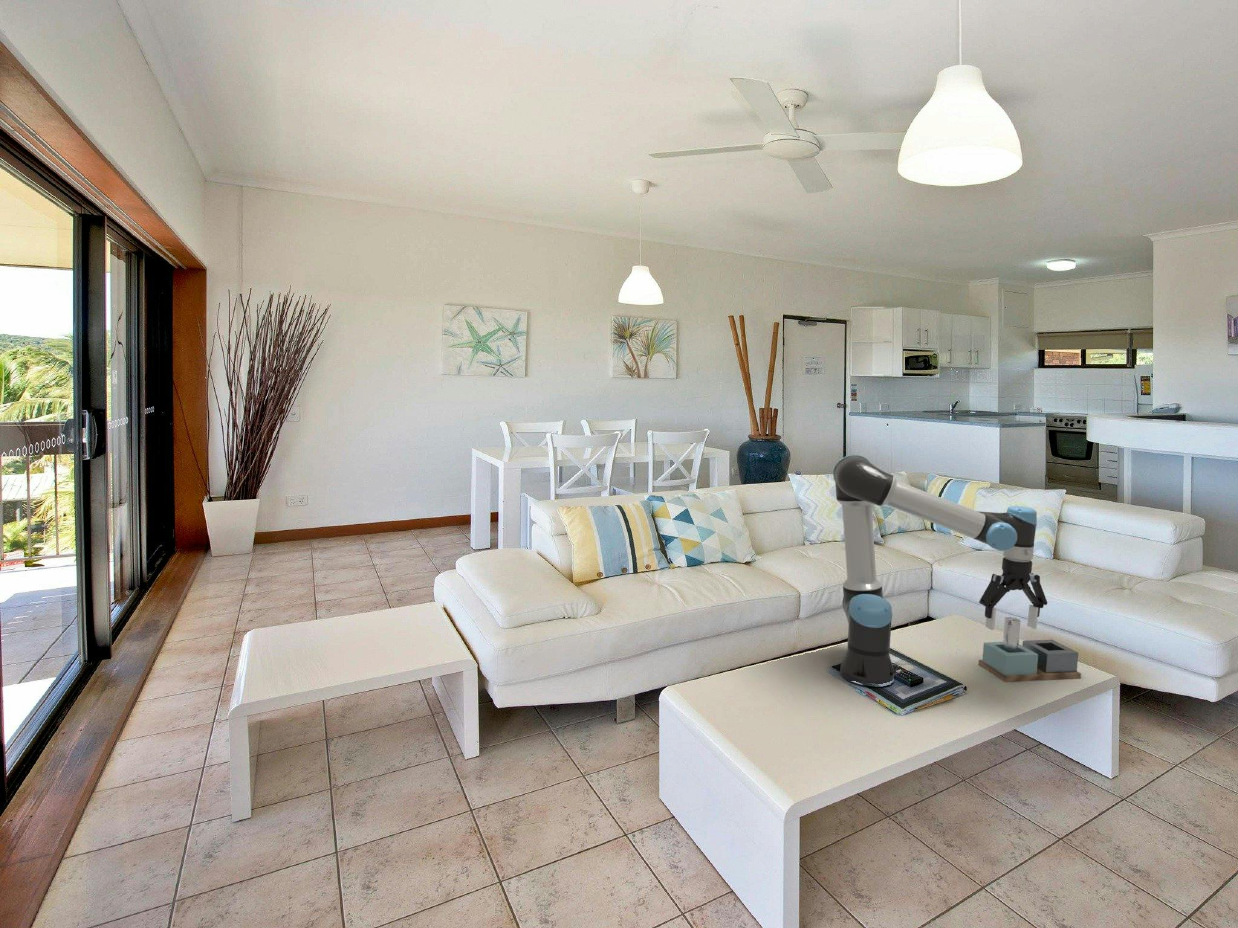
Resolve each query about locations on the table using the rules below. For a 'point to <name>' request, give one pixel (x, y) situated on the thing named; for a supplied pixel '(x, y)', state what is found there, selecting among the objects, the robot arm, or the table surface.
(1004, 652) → the teal square holder
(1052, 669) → the socket block
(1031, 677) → the tool board
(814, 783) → the table surface
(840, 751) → the table surface
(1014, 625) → the translucent peg
